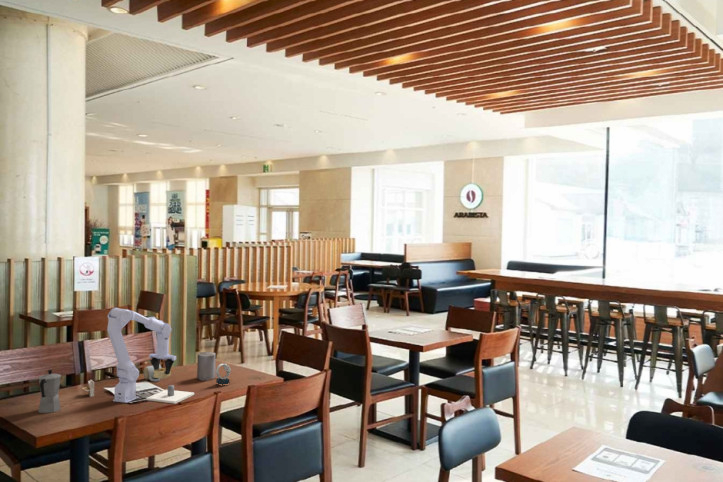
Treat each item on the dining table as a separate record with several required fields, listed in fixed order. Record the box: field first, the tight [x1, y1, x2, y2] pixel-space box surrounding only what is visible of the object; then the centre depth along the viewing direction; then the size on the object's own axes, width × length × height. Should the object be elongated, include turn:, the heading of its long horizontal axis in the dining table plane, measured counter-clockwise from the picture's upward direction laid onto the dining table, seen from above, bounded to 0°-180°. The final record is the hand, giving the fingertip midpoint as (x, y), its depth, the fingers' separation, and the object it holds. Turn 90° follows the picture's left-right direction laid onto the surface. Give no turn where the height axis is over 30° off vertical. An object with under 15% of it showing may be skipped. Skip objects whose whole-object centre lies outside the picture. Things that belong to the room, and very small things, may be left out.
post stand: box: [145, 384, 195, 404], centre depth 282 cm, size 16×16×6 cm
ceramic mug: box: [143, 363, 162, 383], centre depth 314 cm, size 11×8×8 cm
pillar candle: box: [196, 351, 217, 381], centre depth 320 cm, size 10×10×15 cm
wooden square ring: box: [154, 367, 172, 379], centre depth 293 cm, size 6×6×4 cm
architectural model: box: [82, 379, 95, 398], centre depth 283 cm, size 3×7×7 cm, turn 43°
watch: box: [215, 363, 232, 385], centre depth 308 cm, size 6×8×11 cm
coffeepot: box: [38, 369, 62, 414], centre depth 258 cm, size 15×9×18 cm, turn 6°
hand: (162, 373), depth 293 cm, fingers closed on wooden square ring, 6 cm apart
